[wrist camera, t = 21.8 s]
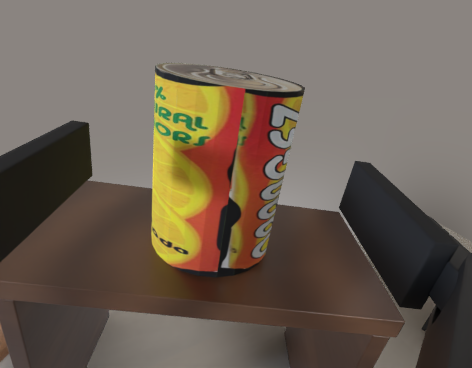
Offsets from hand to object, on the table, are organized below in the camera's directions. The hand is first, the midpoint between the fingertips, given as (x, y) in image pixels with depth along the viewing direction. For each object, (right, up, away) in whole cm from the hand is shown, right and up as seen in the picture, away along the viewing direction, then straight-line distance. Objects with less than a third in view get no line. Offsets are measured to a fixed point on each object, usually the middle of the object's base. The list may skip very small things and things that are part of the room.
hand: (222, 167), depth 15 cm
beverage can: (-1, -5, +9) cm, 10 cm away
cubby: (-4, -21, +17) cm, 27 cm away
